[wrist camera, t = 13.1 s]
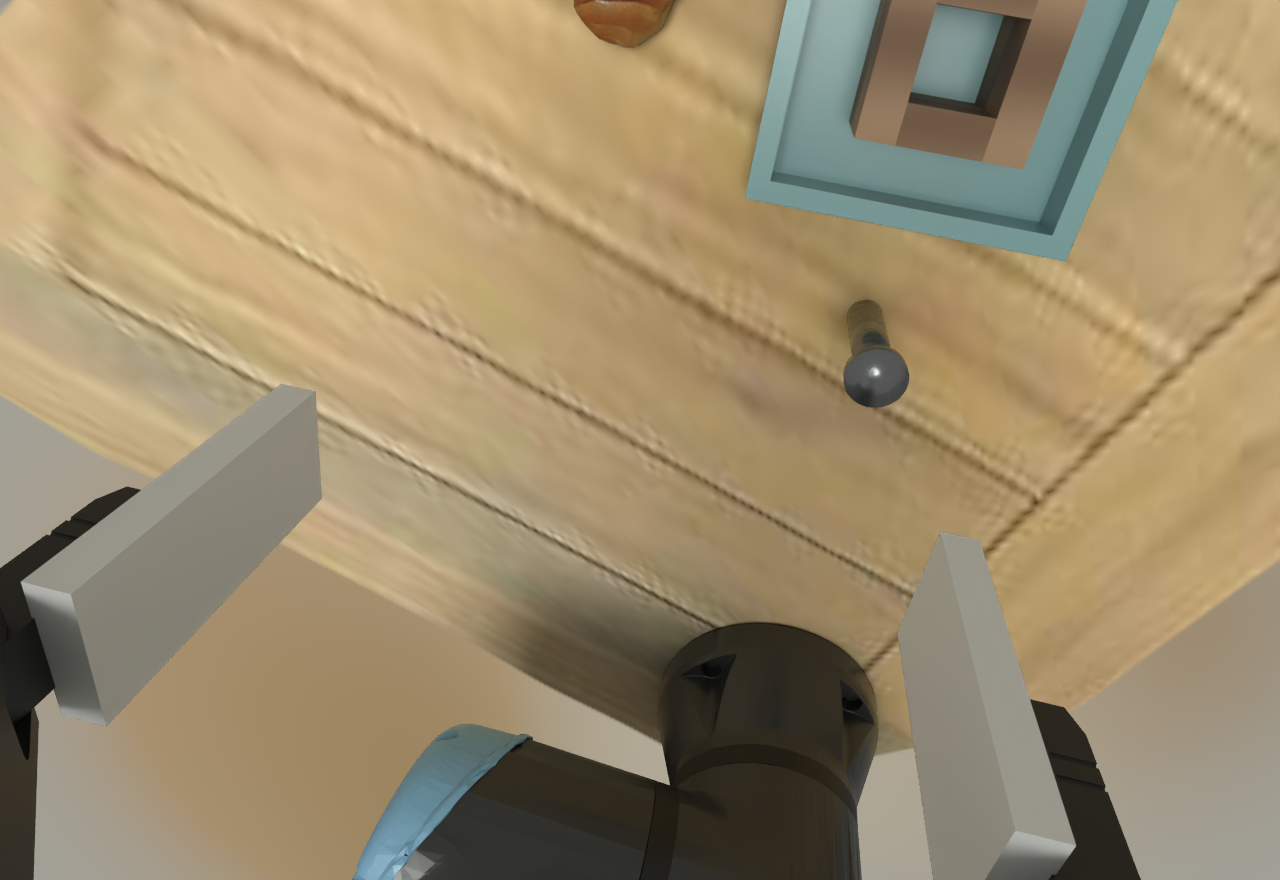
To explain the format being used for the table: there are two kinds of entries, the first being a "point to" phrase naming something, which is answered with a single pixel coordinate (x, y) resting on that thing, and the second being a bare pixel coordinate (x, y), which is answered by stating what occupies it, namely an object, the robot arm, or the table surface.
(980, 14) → the tray
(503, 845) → the robot arm
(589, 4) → the pastry
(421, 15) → the table surface
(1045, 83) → the collar
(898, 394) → the metal bolt
